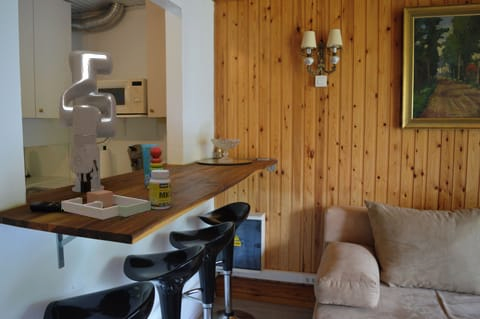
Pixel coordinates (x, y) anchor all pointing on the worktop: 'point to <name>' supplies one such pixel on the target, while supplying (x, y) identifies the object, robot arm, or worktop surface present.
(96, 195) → the block
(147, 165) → the tube
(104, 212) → the box
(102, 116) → the robot arm
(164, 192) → the supplement bottle
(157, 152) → the stacking toy
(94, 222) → the worktop surface
